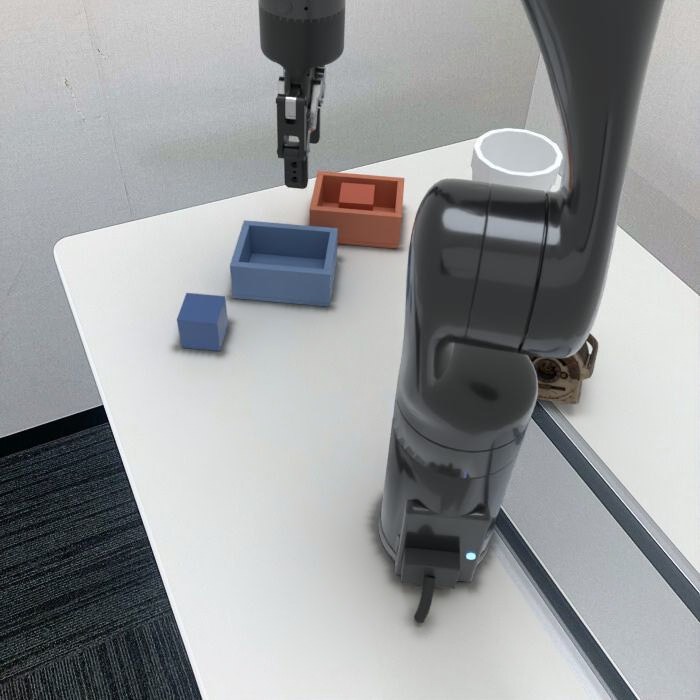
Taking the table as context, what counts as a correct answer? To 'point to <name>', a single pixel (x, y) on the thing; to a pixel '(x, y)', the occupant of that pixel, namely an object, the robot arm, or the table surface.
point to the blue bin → (284, 263)
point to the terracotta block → (357, 196)
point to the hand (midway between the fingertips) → (303, 162)
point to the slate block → (202, 321)
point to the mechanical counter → (565, 373)
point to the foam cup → (516, 159)
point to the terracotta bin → (359, 224)
